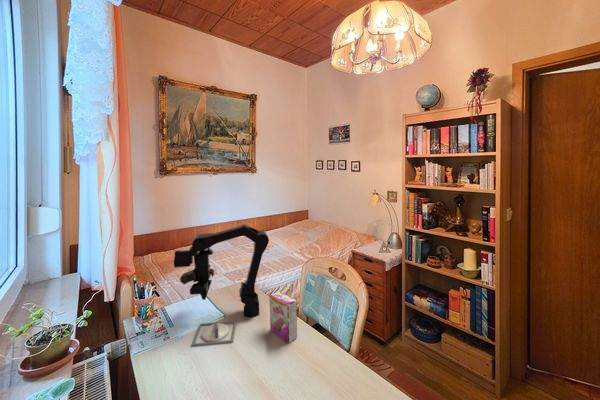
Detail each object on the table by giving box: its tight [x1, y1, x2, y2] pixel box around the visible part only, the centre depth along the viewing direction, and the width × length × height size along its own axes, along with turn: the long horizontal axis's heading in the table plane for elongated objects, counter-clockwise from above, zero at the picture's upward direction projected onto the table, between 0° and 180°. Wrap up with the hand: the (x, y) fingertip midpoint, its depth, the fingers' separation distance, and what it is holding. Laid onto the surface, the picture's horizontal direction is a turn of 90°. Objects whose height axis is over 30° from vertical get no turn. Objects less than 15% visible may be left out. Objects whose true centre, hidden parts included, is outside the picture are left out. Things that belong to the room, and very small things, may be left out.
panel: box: [191, 320, 237, 348], centre depth 107 cm, size 15×13×2 cm
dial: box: [201, 323, 229, 342], centre depth 106 cm, size 10×10×5 cm
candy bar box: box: [269, 290, 298, 344], centre depth 106 cm, size 11×5×16 cm, turn 47°
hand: (204, 299), depth 114 cm, fingers closed
